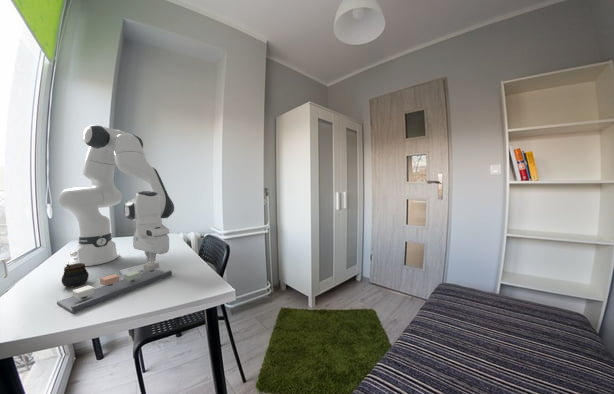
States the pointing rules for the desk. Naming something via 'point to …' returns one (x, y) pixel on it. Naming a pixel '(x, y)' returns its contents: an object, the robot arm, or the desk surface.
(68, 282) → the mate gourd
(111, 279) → the key
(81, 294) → the key
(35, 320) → the desk surface
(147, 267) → the key
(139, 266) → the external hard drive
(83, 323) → the desk surface
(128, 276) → the key
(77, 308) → the base
